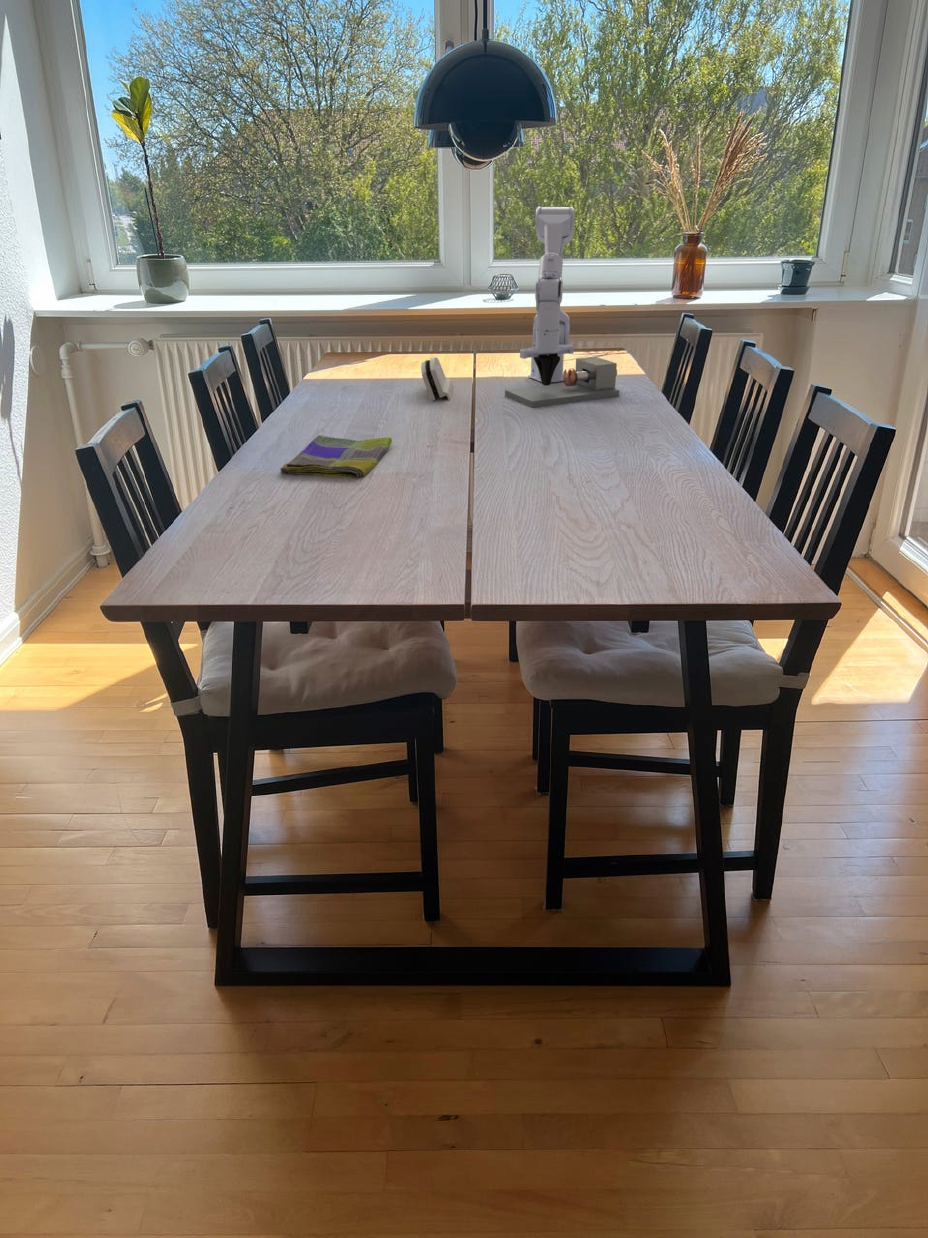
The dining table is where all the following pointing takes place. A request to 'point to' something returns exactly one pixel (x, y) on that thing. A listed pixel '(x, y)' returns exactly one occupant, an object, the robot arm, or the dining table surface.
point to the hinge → (435, 379)
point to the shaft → (575, 376)
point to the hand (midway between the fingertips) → (545, 384)
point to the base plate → (556, 394)
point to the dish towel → (339, 457)
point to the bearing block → (597, 373)
